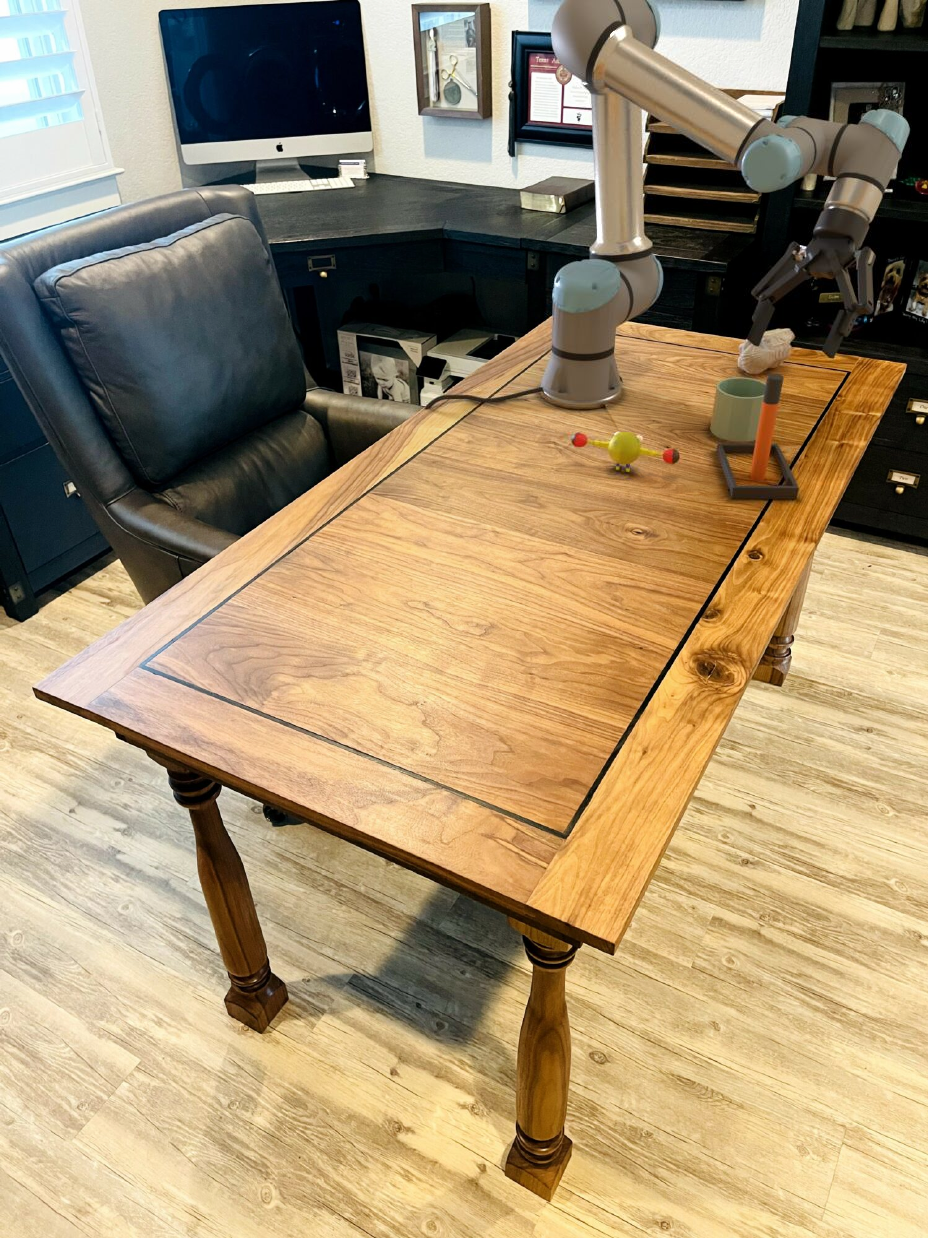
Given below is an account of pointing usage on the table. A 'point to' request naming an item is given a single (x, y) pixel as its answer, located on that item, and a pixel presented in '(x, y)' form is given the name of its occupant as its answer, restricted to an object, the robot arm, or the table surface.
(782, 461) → the pen tray
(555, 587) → the table surface
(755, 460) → the marker
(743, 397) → the pen cup
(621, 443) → the toy figure
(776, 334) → the fossil replica
